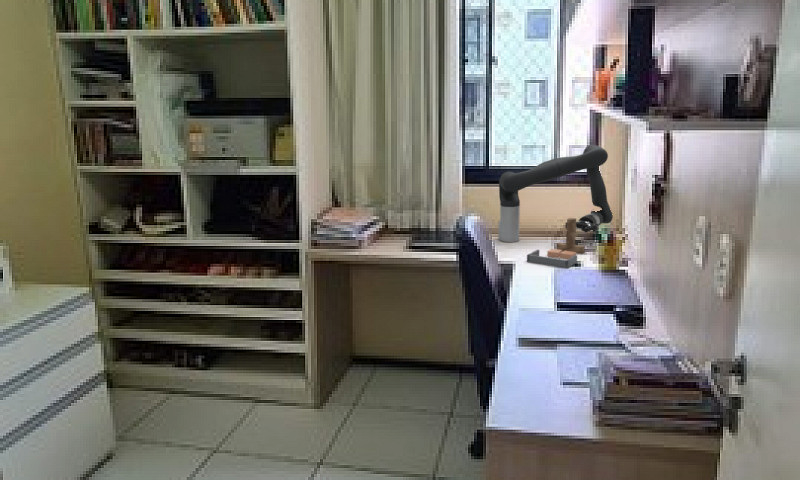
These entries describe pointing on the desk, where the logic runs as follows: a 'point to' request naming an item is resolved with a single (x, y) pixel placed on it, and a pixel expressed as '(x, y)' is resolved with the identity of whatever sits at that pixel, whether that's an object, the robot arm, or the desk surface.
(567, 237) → the wooden peg stand
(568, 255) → the tile
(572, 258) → the box
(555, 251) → the tile
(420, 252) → the desk surface
